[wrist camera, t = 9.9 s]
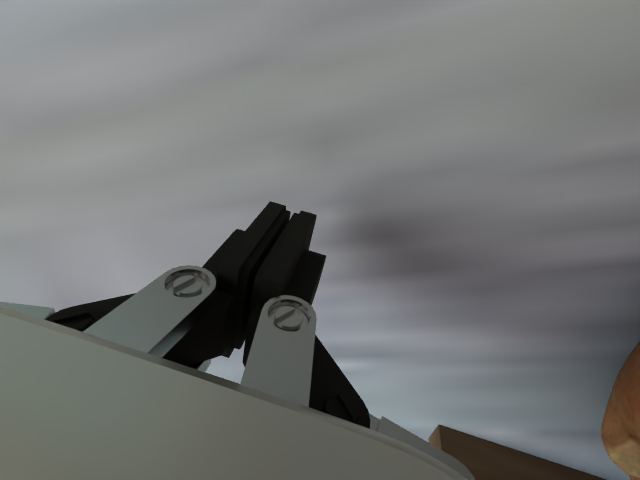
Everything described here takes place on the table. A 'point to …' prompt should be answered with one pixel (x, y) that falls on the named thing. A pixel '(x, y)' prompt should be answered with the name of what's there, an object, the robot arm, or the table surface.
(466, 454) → the walnut bay
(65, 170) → the table surface
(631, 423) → the ceramic jug
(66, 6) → the table surface
